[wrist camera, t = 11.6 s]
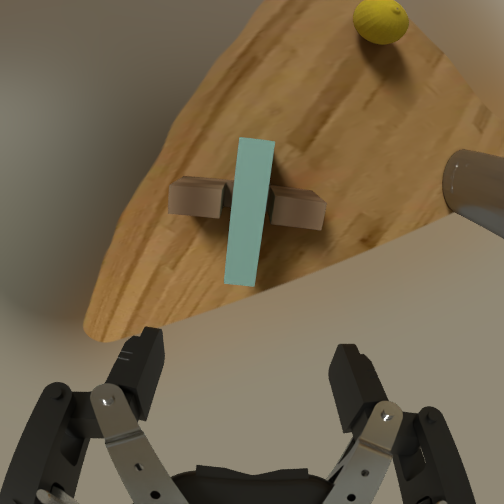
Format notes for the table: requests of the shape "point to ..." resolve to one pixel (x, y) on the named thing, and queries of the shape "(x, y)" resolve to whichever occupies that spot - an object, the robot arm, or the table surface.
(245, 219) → the teal arch block
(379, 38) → the lemon
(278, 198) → the brown wooden u-shaped block
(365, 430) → the robot arm
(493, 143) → the table surface
